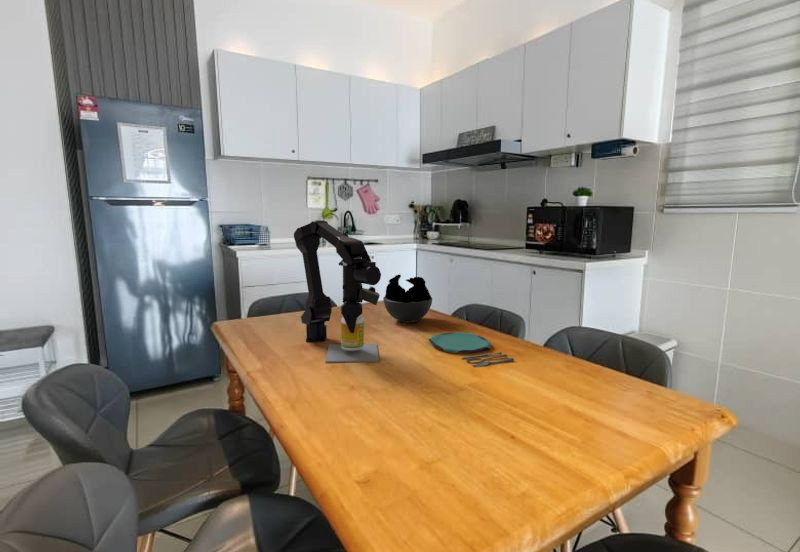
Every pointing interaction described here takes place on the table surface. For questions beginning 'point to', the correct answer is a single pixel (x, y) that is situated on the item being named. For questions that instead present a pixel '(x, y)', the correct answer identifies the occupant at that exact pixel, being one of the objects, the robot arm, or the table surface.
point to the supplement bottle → (352, 335)
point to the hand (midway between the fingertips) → (352, 329)
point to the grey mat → (352, 354)
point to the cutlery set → (466, 346)
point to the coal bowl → (407, 299)
